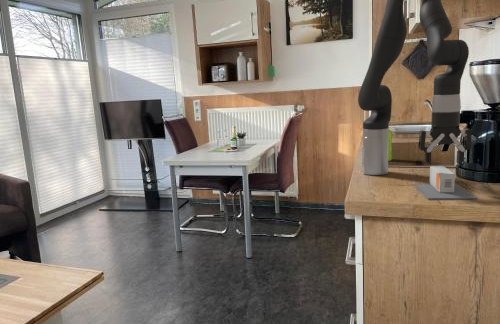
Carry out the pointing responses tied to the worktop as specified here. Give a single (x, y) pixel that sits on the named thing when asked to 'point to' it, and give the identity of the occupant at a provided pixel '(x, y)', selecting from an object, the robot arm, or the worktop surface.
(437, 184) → the skincare box
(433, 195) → the rubber mat
